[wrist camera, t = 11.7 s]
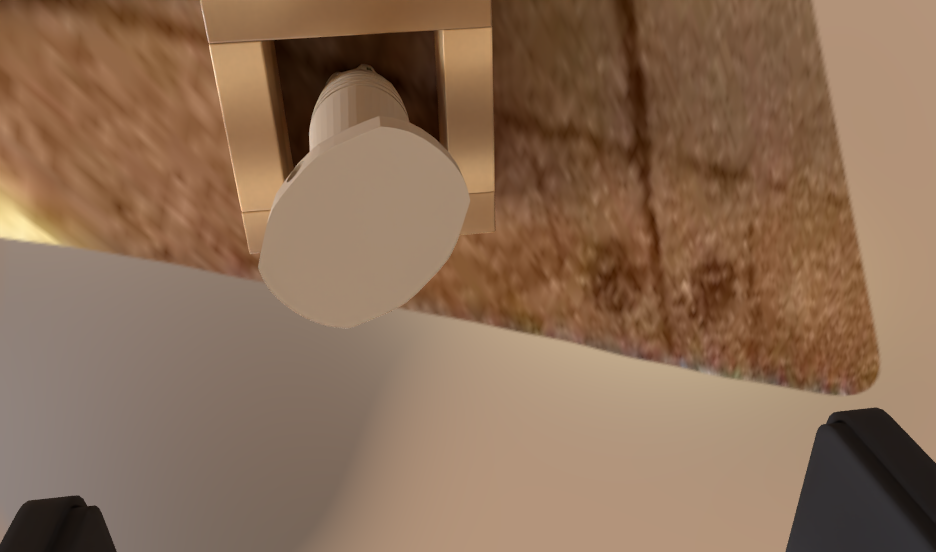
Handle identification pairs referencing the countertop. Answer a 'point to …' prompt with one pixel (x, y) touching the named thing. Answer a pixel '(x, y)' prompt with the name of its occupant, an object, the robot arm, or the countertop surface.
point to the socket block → (341, 14)
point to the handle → (362, 208)
